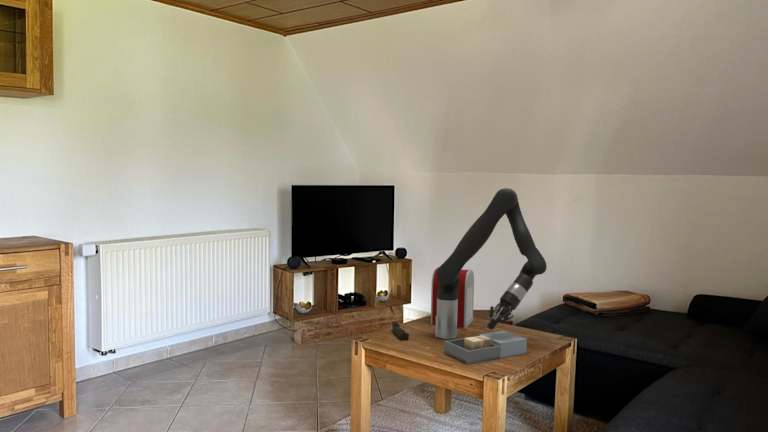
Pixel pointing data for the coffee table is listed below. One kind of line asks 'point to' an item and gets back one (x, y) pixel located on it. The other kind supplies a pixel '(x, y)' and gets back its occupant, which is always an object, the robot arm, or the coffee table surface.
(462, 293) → the red rounded-top case
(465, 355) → the bin
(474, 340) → the block
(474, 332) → the coffee table surface
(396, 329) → the hand tool
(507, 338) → the platform
